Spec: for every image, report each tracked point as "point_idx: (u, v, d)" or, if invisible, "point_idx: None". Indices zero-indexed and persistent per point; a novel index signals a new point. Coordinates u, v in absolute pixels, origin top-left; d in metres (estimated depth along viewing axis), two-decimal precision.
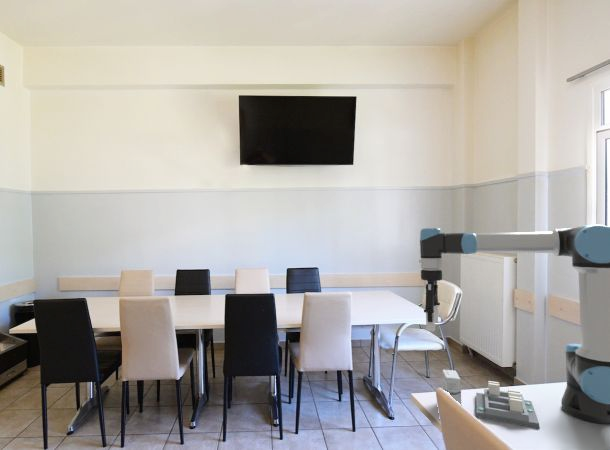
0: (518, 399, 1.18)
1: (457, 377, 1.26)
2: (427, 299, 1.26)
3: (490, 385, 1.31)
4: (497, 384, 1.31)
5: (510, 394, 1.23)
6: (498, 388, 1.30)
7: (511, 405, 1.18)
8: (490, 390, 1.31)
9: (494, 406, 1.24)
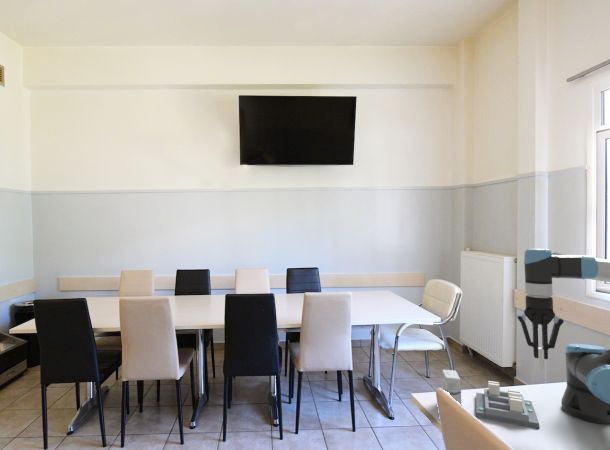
0: (518, 399, 1.18)
1: (457, 377, 1.26)
2: None
3: (490, 385, 1.31)
4: (497, 384, 1.31)
5: (510, 394, 1.23)
6: (498, 388, 1.30)
7: (511, 405, 1.18)
8: (490, 390, 1.31)
9: (494, 406, 1.24)
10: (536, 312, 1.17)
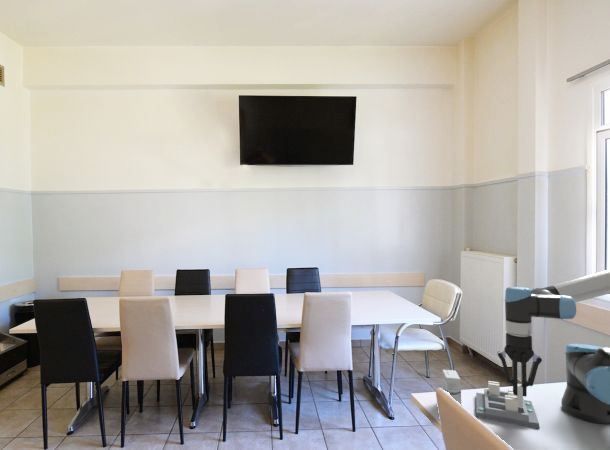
0: (513, 398, 1.19)
1: (457, 377, 1.26)
2: None
3: (490, 385, 1.31)
4: (497, 384, 1.31)
5: (510, 394, 1.23)
6: (498, 388, 1.30)
7: (506, 404, 1.19)
8: (490, 390, 1.31)
9: (494, 406, 1.24)
10: (516, 350, 1.19)
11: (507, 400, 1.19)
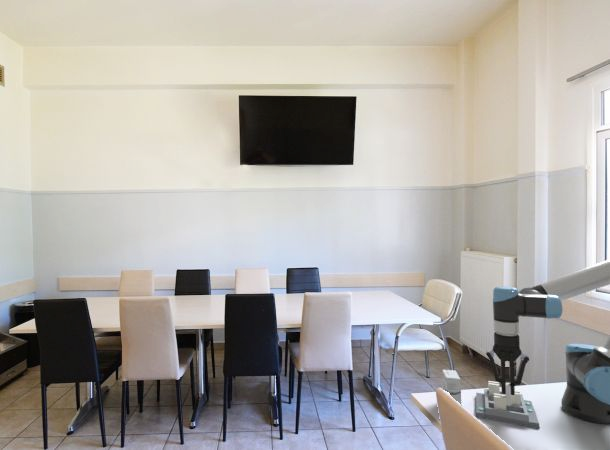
0: (502, 396, 1.20)
1: (457, 377, 1.26)
2: None
3: (490, 385, 1.31)
4: (497, 384, 1.31)
5: None
6: (498, 388, 1.30)
7: (495, 402, 1.20)
8: (490, 390, 1.31)
9: None
10: (503, 349, 1.20)
11: (496, 398, 1.20)
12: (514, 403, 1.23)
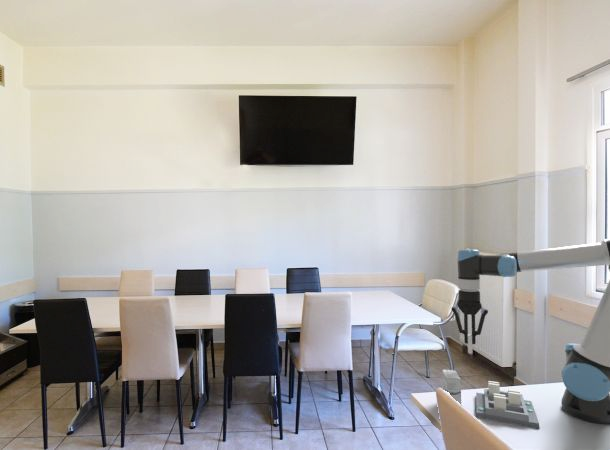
0: (502, 396, 1.20)
1: (457, 377, 1.26)
2: None
3: (490, 385, 1.31)
4: (497, 384, 1.31)
5: (510, 394, 1.23)
6: (498, 388, 1.30)
7: (495, 402, 1.20)
8: (490, 390, 1.31)
9: None
10: (466, 304, 1.35)
11: (495, 398, 1.20)
12: (514, 403, 1.23)
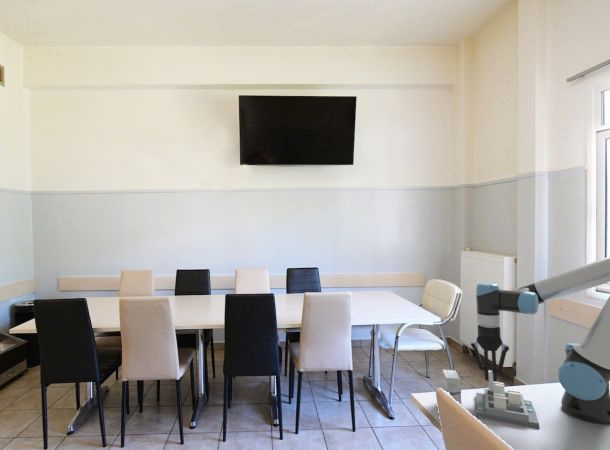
0: (502, 396, 1.20)
1: (457, 377, 1.26)
2: None
3: (495, 386, 1.30)
4: (502, 385, 1.30)
5: (510, 394, 1.23)
6: (503, 389, 1.29)
7: (495, 402, 1.20)
8: (495, 391, 1.30)
9: None
10: (486, 340, 1.32)
11: (495, 398, 1.20)
12: (514, 403, 1.23)
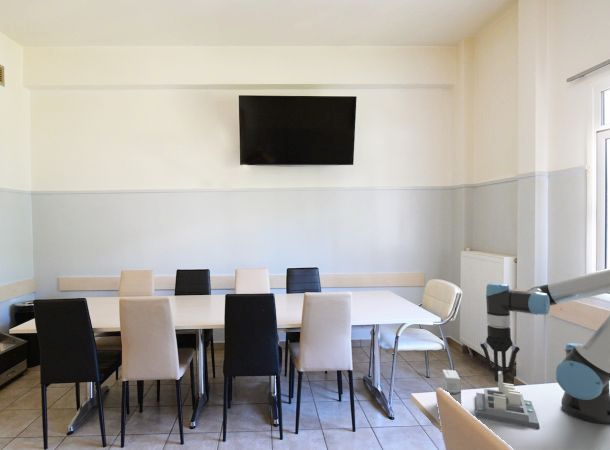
0: (502, 396, 1.20)
1: (457, 377, 1.26)
2: None
3: (505, 387, 1.29)
4: (512, 386, 1.29)
5: (510, 394, 1.23)
6: None
7: (495, 402, 1.20)
8: (505, 392, 1.29)
9: None
10: (496, 340, 1.31)
11: (495, 398, 1.20)
12: (514, 403, 1.23)
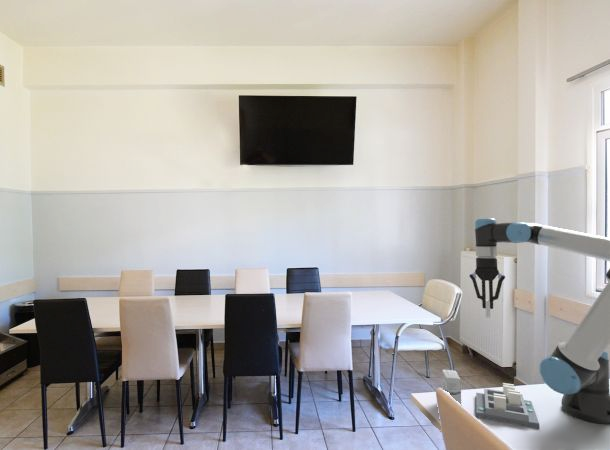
0: (502, 396, 1.20)
1: (457, 377, 1.26)
2: None
3: (505, 387, 1.29)
4: (512, 386, 1.29)
5: (510, 394, 1.23)
6: None
7: (495, 402, 1.20)
8: (505, 392, 1.29)
9: None
10: (484, 270, 1.42)
11: (495, 398, 1.20)
12: (514, 403, 1.23)
